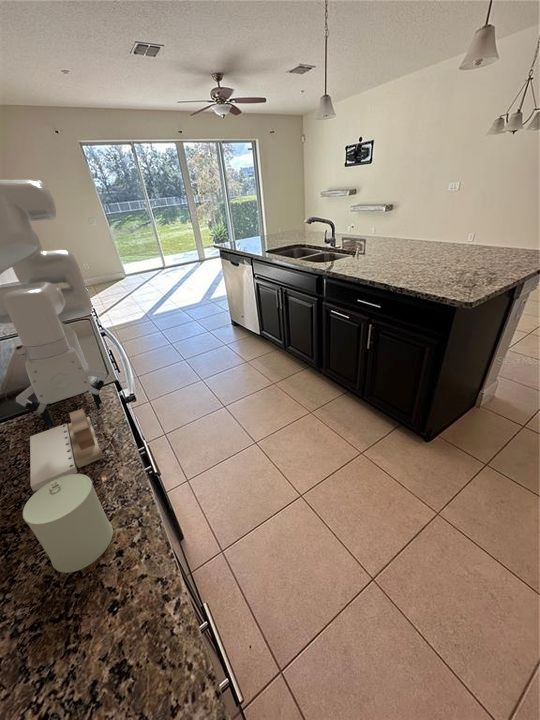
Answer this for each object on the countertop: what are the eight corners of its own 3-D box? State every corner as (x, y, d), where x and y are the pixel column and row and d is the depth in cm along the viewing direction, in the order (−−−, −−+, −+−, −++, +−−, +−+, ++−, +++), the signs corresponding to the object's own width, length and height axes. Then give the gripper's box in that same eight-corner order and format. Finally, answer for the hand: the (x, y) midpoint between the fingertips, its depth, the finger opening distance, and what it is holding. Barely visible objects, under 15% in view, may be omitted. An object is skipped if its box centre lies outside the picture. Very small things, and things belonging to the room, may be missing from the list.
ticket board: (32, 441, 77) (30, 436, 76) (68, 427, 81) (66, 423, 80) (33, 491, 62) (30, 486, 61) (77, 472, 66) (74, 466, 65)
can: (103, 509, 57) (82, 462, 52) (121, 543, 51) (99, 493, 46) (46, 544, 51) (16, 495, 46) (59, 586, 45) (25, 535, 40)
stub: (69, 428, 80) (61, 408, 77) (90, 420, 83) (82, 401, 80) (78, 468, 67) (67, 445, 64) (102, 457, 69) (93, 435, 67)
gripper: (-6, 366, 56) (31, 439, 64) (95, 341, 65) (118, 407, 72) (-3, 355, 62) (31, 423, 69) (90, 333, 71) (112, 395, 78)
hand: (76, 415), depth 71 cm, fingers open, 9 cm apart
